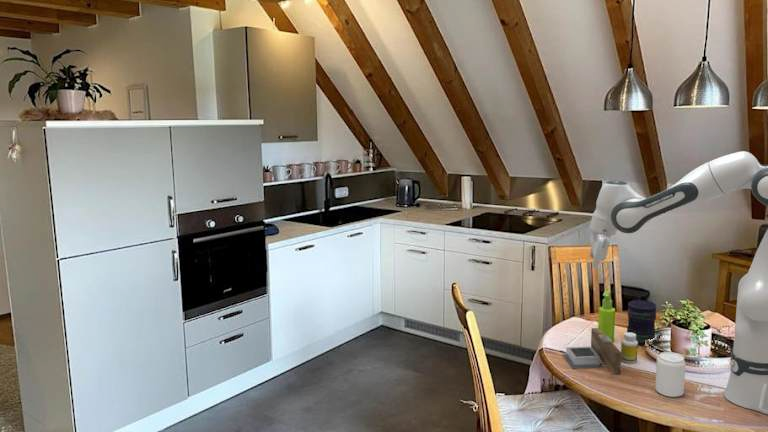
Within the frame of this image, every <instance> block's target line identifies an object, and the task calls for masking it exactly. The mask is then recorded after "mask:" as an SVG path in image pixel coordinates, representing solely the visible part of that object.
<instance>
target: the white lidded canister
mask: <svg viewBox="0 0 768 432" xmlns="http://www.w3.org/2000/svg"><path fill="white" fill-rule="evenodd" d="M655 367H656V369H655V385H654V387H655V391H656V392H657V393H659V394H661V395H663V396H666V397H670V398H676V397H677V398H678V397H681V396H683V395H684V392H685V377H686V361H685V358H684V356H683V355H681V354H680V353H677V352H671V351H664V352H663V351H662V352H660V353H659V354H658V356H657V357H656V366H655Z"/></svg>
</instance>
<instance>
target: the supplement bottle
mask: <svg viewBox="0 0 768 432" xmlns="http://www.w3.org/2000/svg"><path fill="white" fill-rule="evenodd" d="M635 339H636V334H634V333H631V332H627V331H626V332H624V333H623V338H622V339H621V345H620V352H621V362H622V361H623V363H624V362H625V363H629V364H634V363H637V361H638V348H639V346H638V342H637V340H635Z"/></svg>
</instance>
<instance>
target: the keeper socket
mask: <svg viewBox="0 0 768 432" xmlns="http://www.w3.org/2000/svg"><path fill="white" fill-rule="evenodd" d="M562 357H563V358H564V360H565V361H566V364H568V366H569V367H570V368H571V369H572V370H574V369H575V370H576V369H577V370H578V369H582V370H583V369H603V368H604V366H605V365H604V364H602V362H601V360H600V356H599V355H598V354H597V353H596V352H595V351H594V349H593V348H592V347H591V346H576V347H575V346H570V347H569V346H567V347H566V348H565V353H563V354H562Z"/></svg>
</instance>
